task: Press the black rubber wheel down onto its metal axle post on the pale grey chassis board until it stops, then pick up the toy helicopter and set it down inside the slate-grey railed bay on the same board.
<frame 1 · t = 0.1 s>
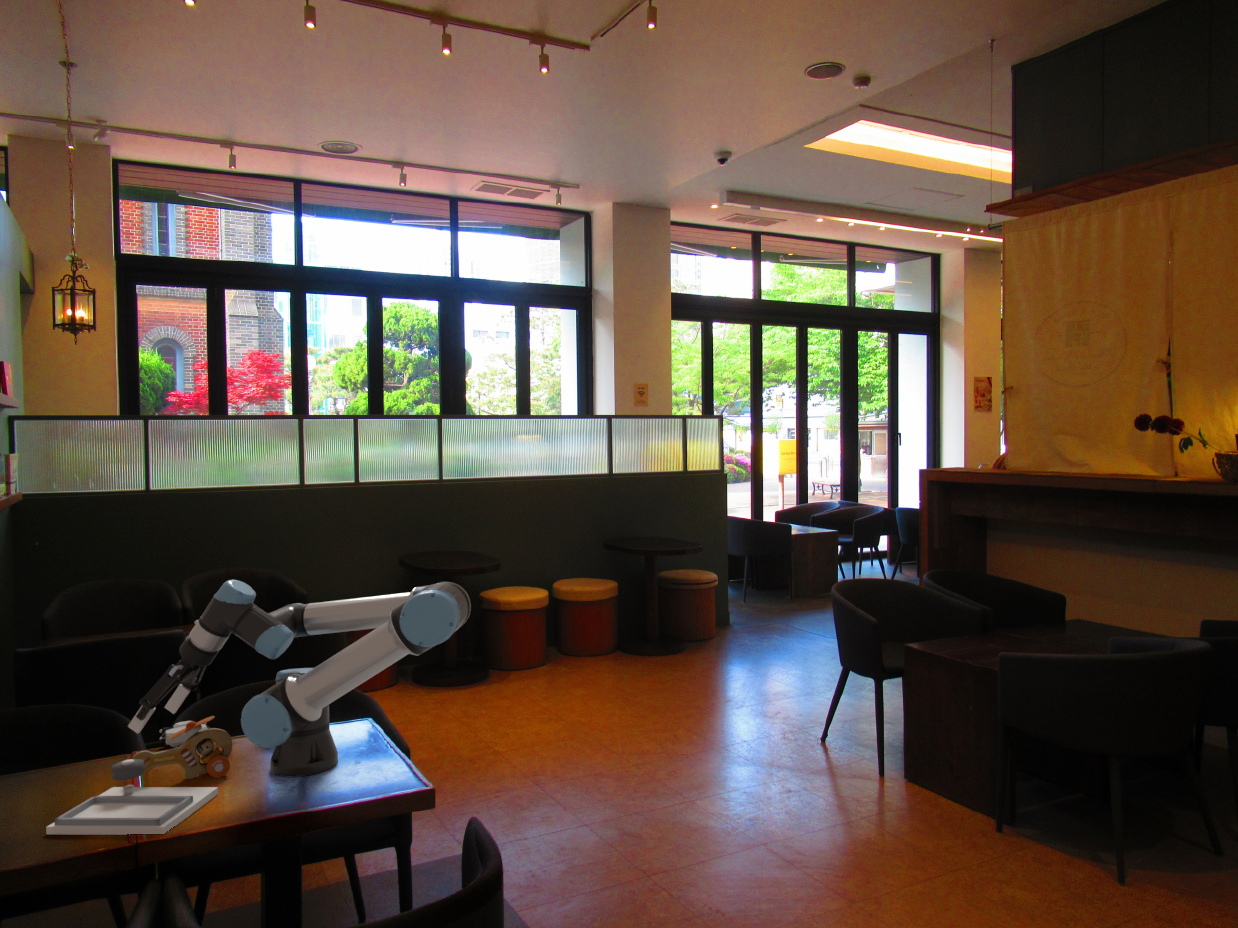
hand: (152, 719, 189), 15 cm above the table, tool tilted 35°, fingers open, 13 cm apart
wheel: (128, 768, 182), point 7 cm above the table, slide at 0.0 cm
plant pot: (290, 732, 227), on the table
toy helicopter: (188, 779, 194), on the table
robot toy: (185, 742, 221), on the table
chassis board: (136, 812, 175), on the table
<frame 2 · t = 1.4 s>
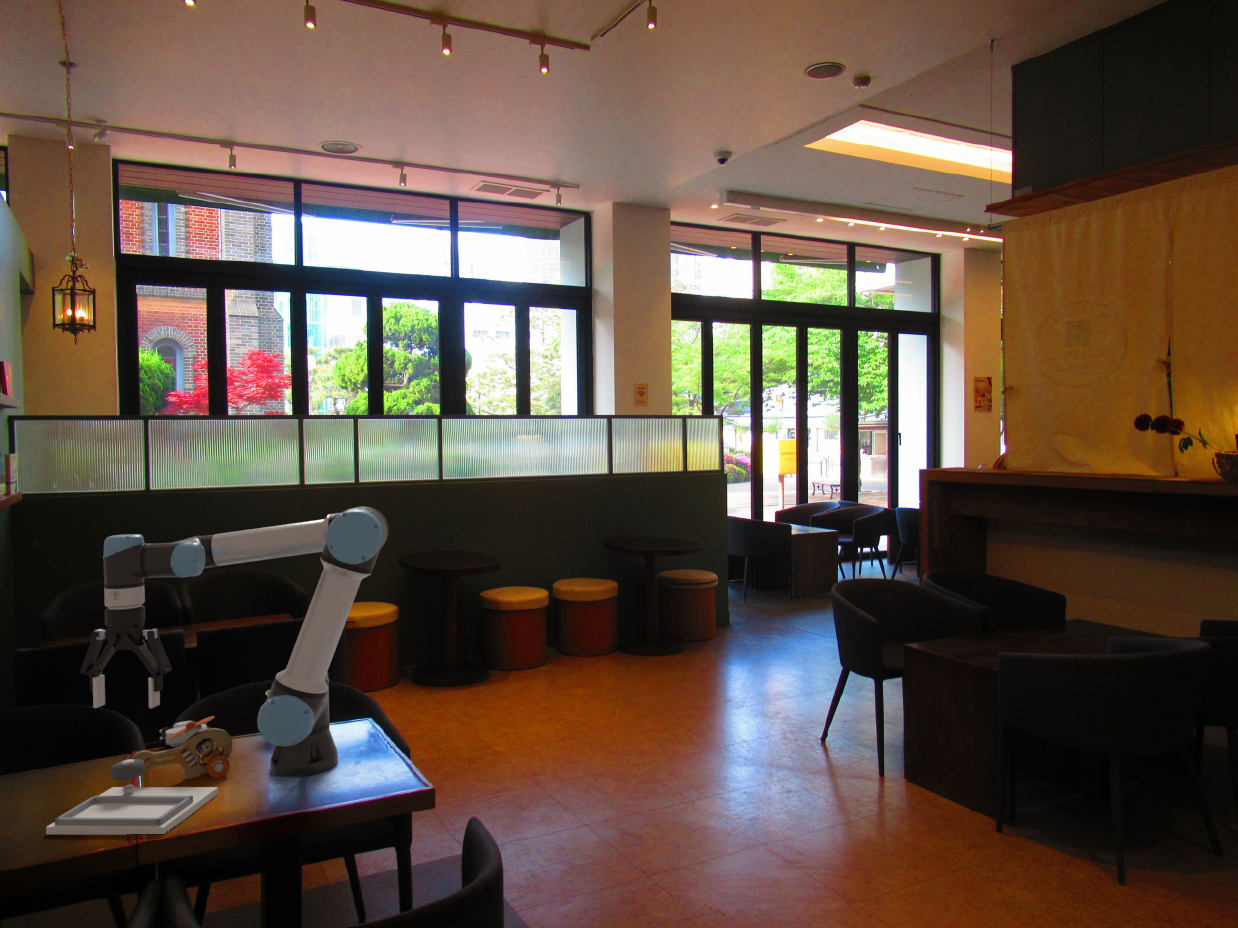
hand: (126, 706, 182), 20 cm above the table, tool pointing down, fingers open, 12 cm apart
nothing on the table moved.
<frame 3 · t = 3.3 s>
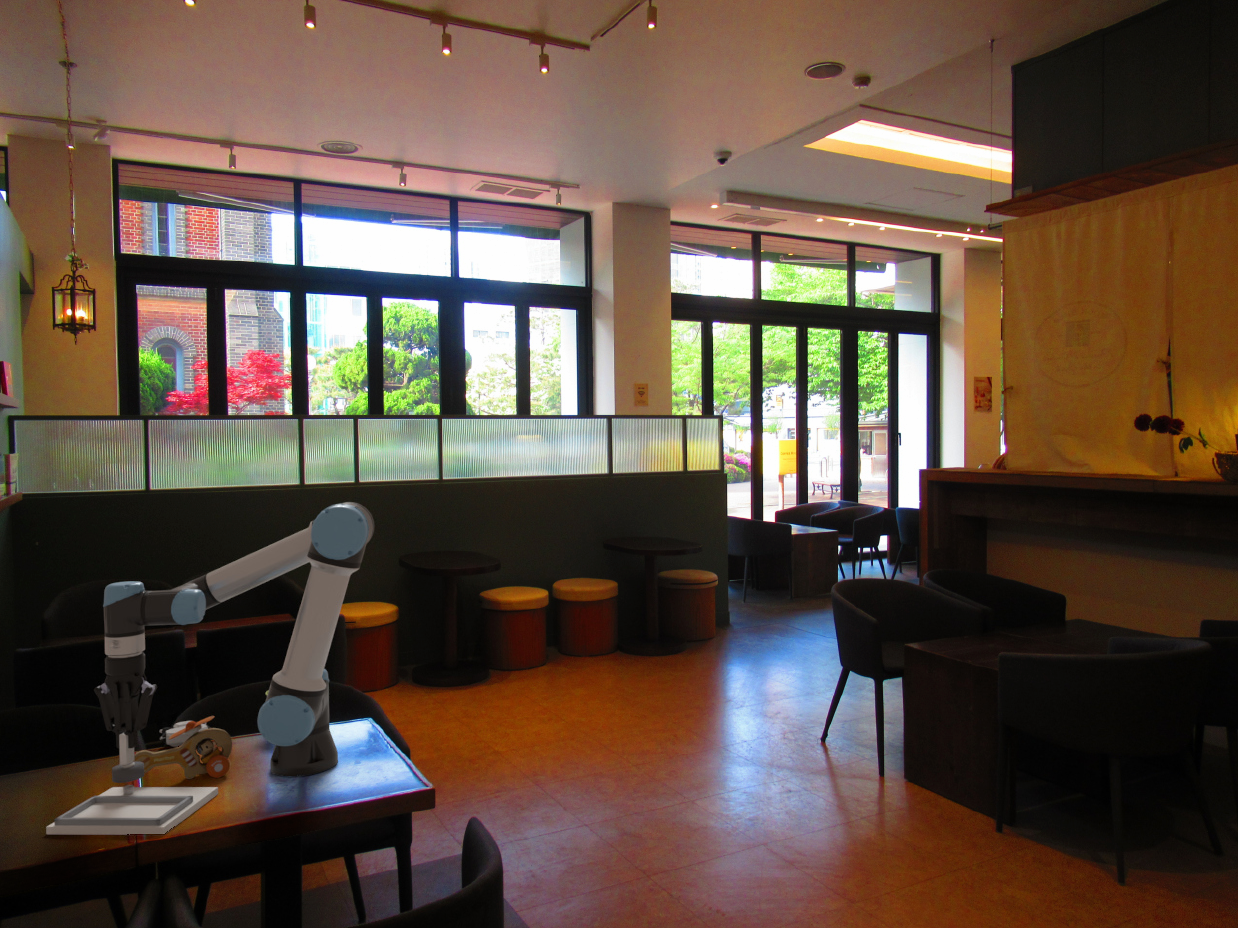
hand: (127, 762, 182), 8 cm above the table, tool pointing down, fingers closed
wheel: (128, 770, 182), point 6 cm above the table, slide at 0.5 cm, touching gripper
everything else where it was.
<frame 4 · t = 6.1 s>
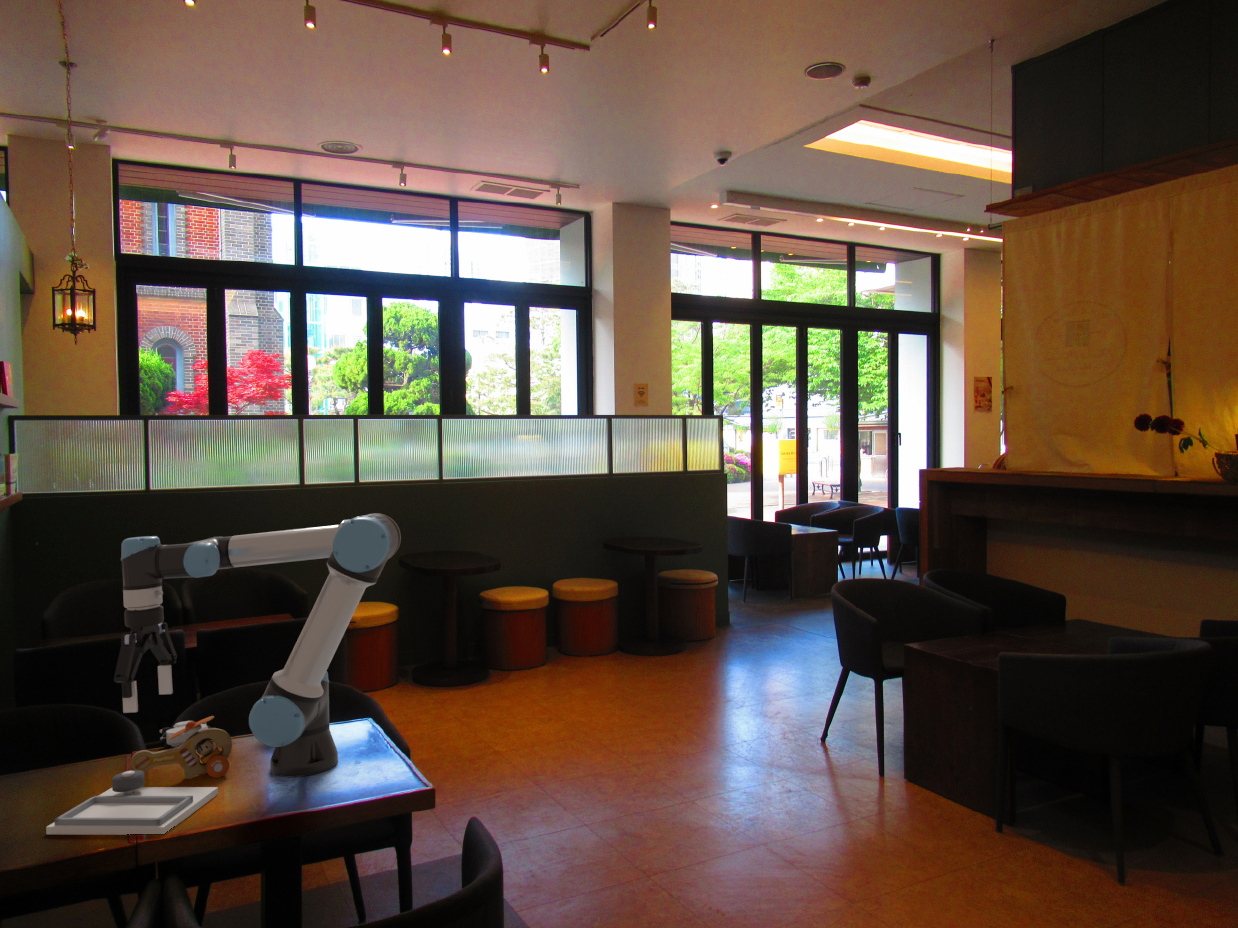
hand: (148, 702, 186), 20 cm above the table, tool pointing down, fingers open, 13 cm apart
wheel: (128, 779, 182), point 4 cm above the table, slide at 2.5 cm, touching chassis board
everything else where it was.
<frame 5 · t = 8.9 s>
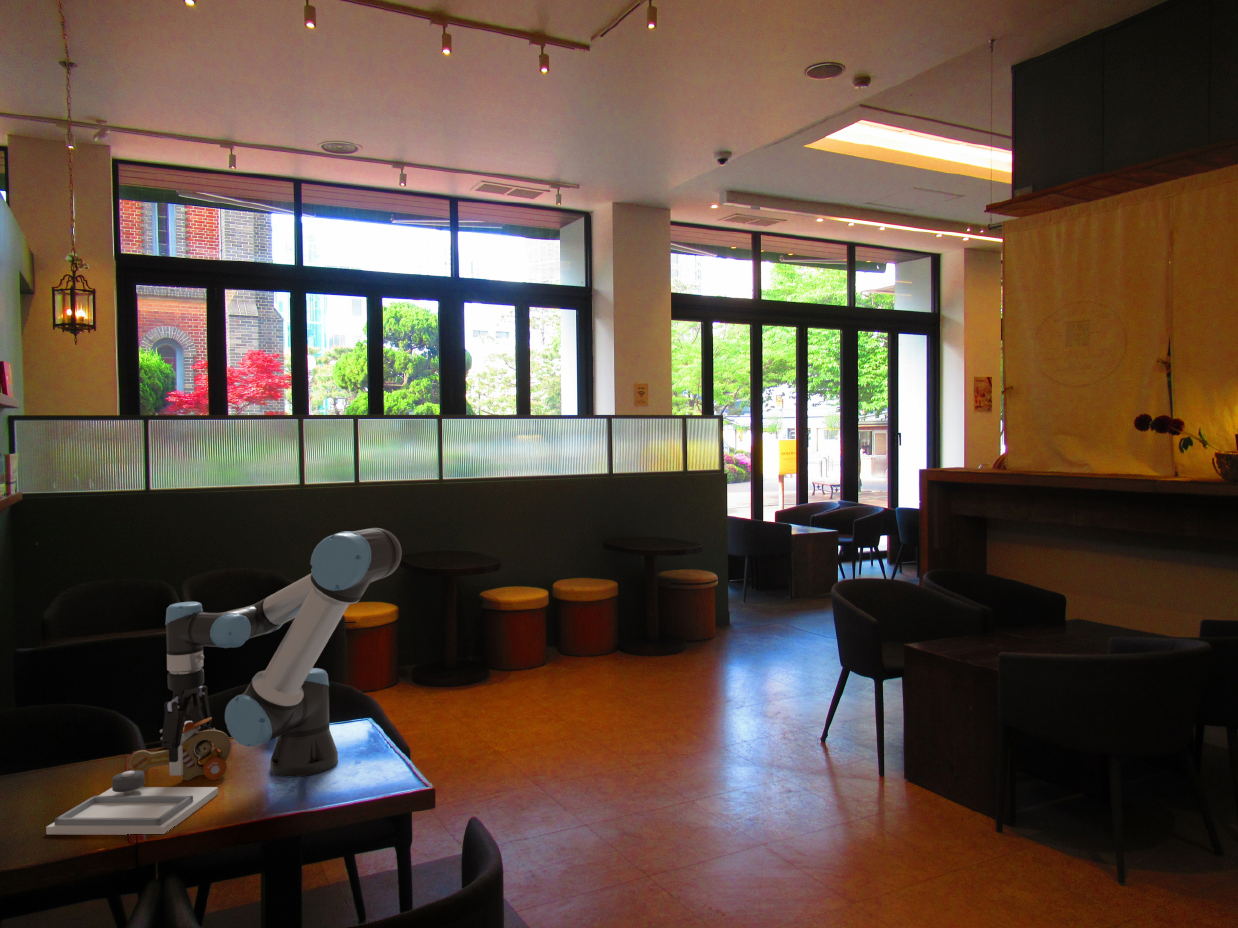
hand: (188, 766, 195), 3 cm above the table, tool pointing down, fingers closed on toy helicopter, 9 cm apart
toy helicopter: (186, 780, 194), on the table, touching gripper
everything else where it was.
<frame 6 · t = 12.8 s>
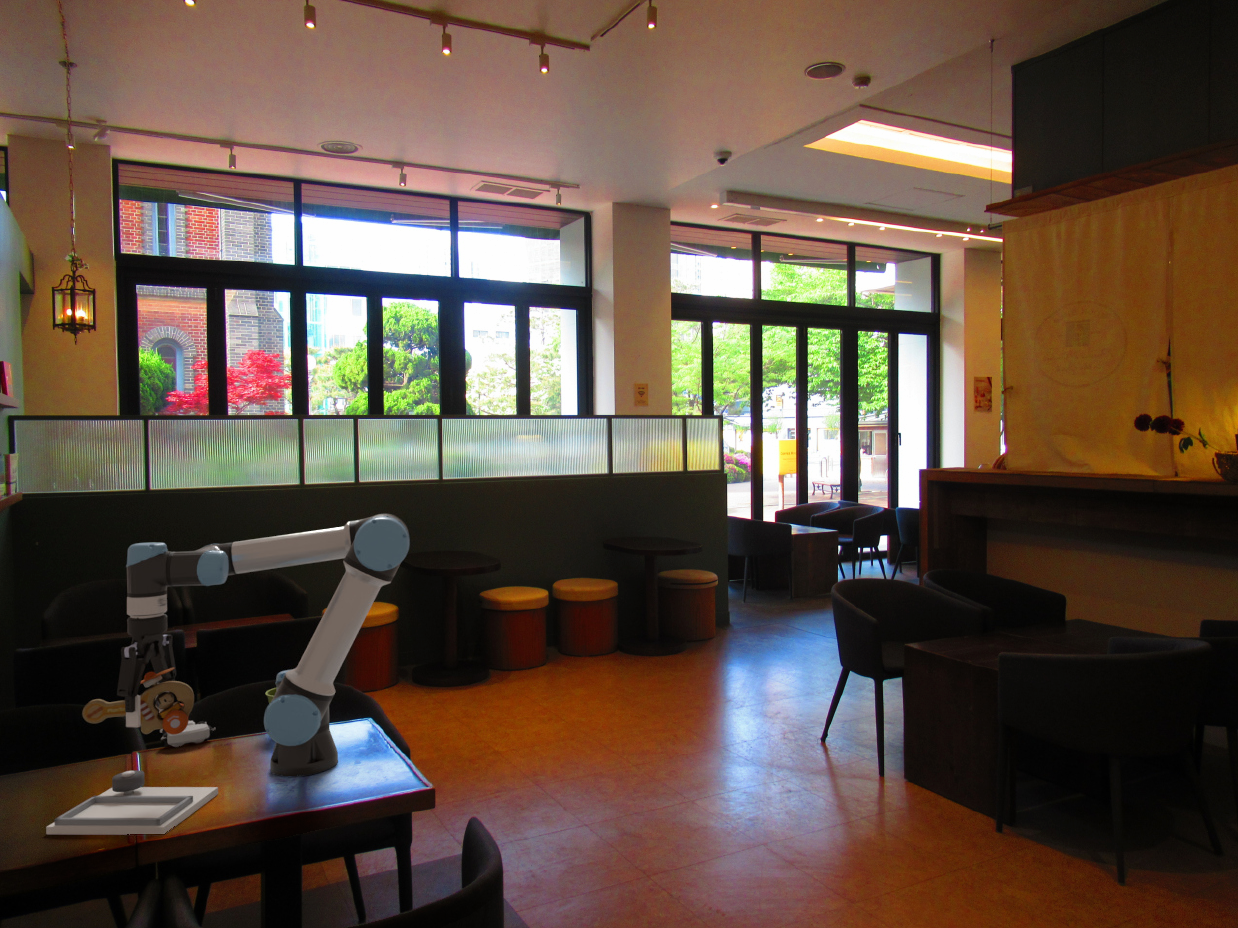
hand: (148, 719, 181), 18 cm above the table, tool pointing down, fingers closed on toy helicopter, 9 cm apart
toy helicopter: (145, 733, 180), point 15 cm above the table, touching gripper
everything else where it was.
when the fingers open (5 cm above the table, at t = 16.3 s): toy helicopter drops 1 cm, resting on chassis board.
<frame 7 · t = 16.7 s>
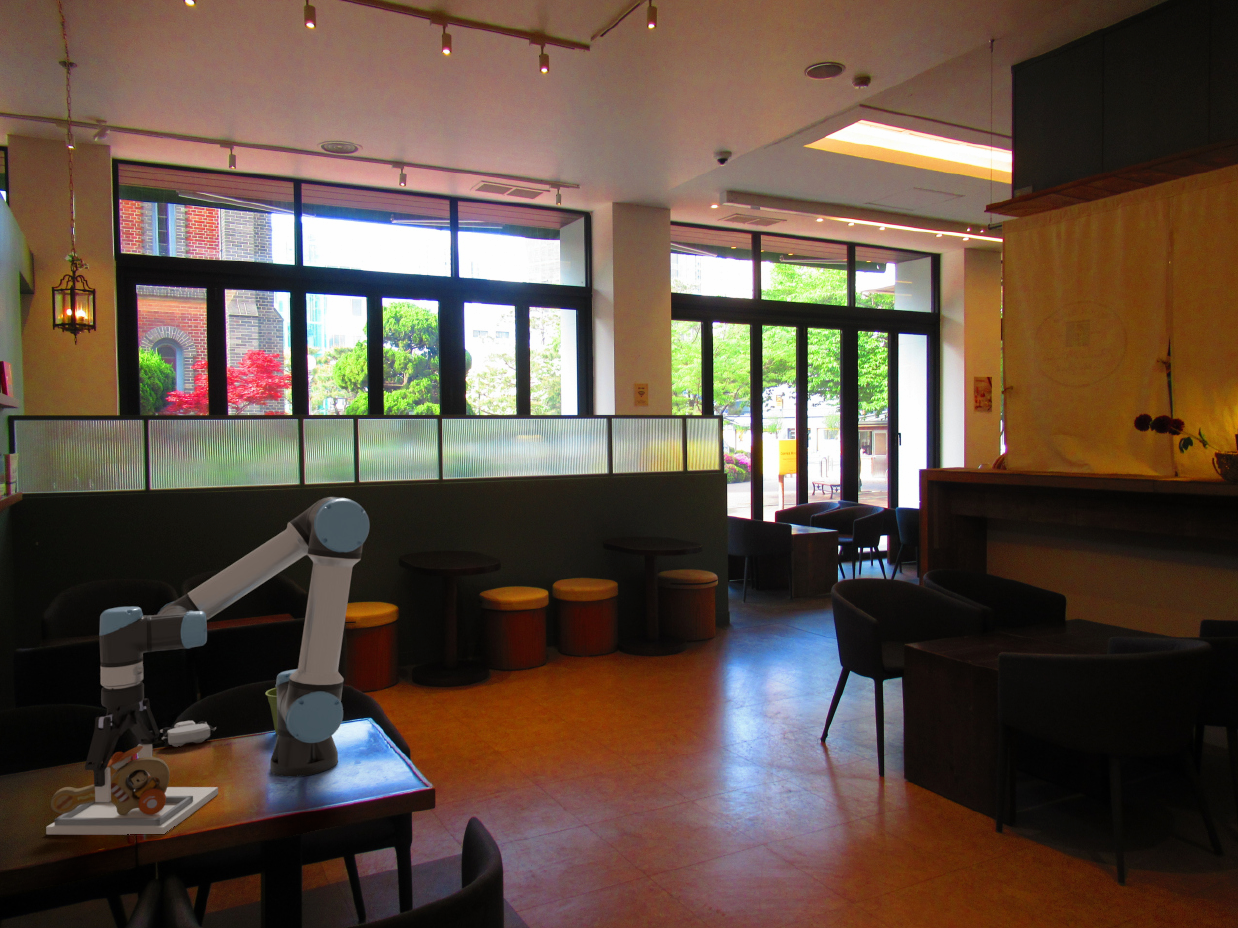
hand: (125, 787, 172), 7 cm above the table, tool pointing down, fingers open, 13 cm apart
toy helicopter: (122, 814, 171), point 2 cm above the table, touching chassis board
everything else where it was.
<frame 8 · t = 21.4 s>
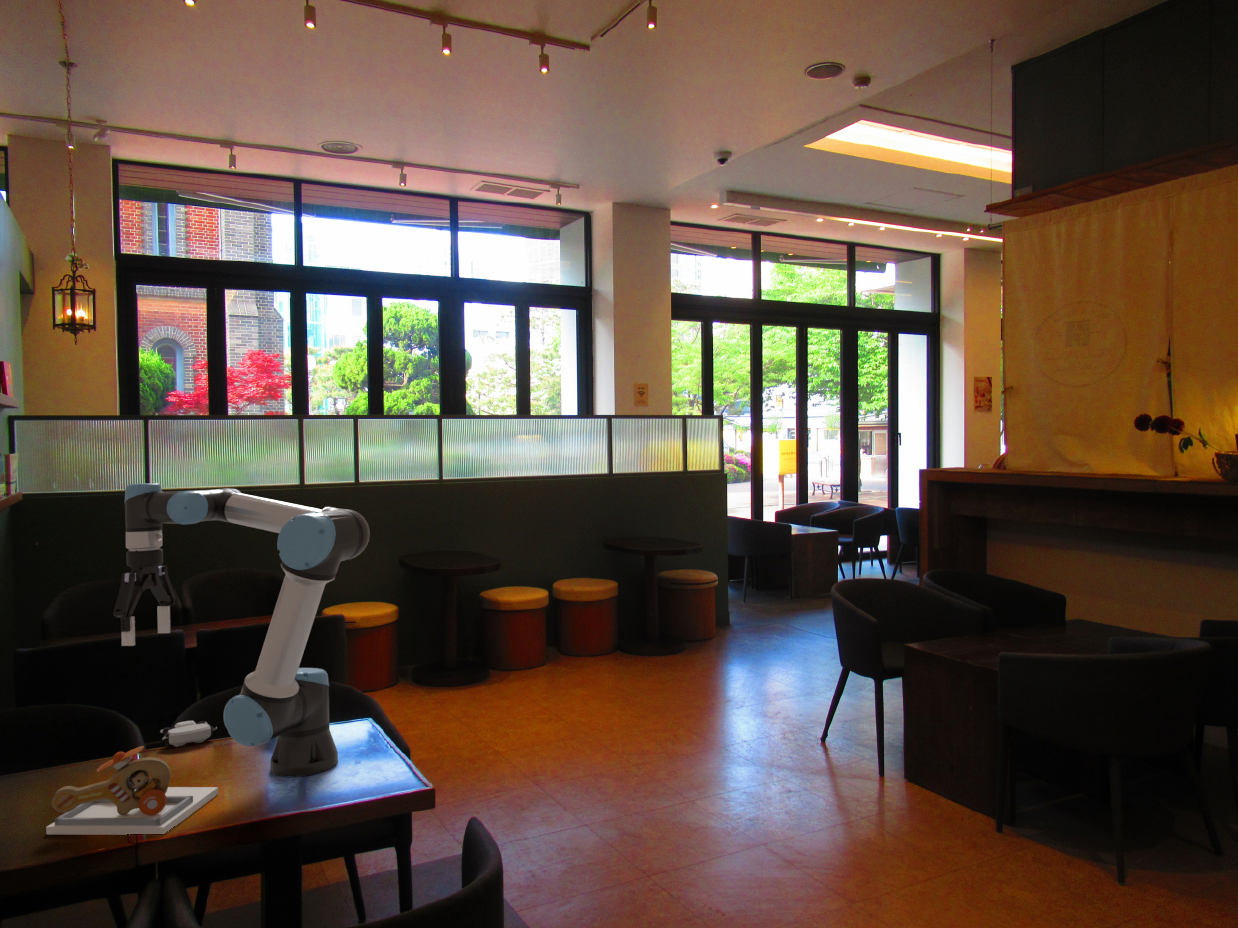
hand: (146, 639, 198), 32 cm above the table, tool pointing down, fingers open, 13 cm apart
nothing on the table moved.
at the end: wheel slide at 2.5 cm; toy helicopter 0.6 cm from the target spot on the chassis board, point 1.5 cm above the chassis board's base; the gripper is holding nothing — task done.
